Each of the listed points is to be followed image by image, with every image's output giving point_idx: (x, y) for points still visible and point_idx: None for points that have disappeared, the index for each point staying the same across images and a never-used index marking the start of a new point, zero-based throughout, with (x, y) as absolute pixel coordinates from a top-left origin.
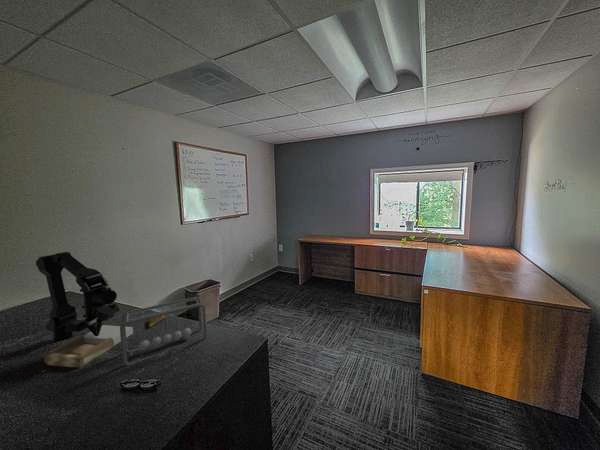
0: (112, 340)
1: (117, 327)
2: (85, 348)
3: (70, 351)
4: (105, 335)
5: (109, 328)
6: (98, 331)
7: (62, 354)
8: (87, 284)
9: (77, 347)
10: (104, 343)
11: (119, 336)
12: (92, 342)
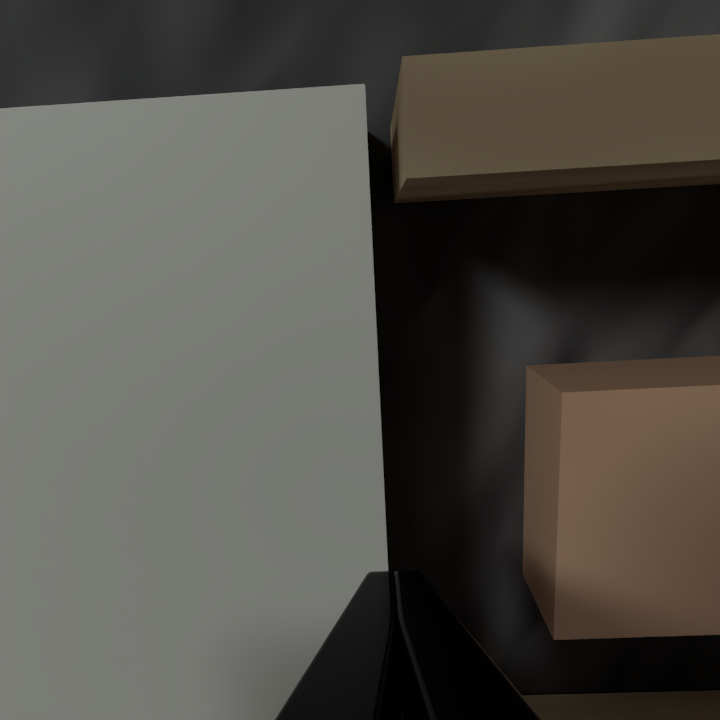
0: (366, 130)
1: None
2: (697, 468)
3: (619, 699)
4: (263, 474)
5: (11, 656)
6: (391, 642)
7: None
8: None
9: None
10: (664, 44)
11: (183, 106)
12: None
